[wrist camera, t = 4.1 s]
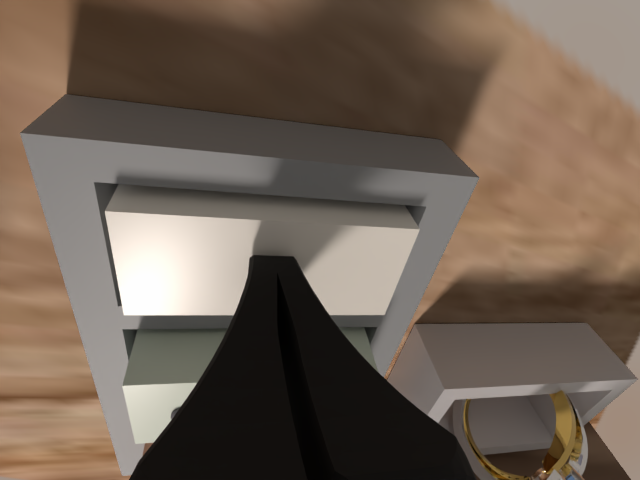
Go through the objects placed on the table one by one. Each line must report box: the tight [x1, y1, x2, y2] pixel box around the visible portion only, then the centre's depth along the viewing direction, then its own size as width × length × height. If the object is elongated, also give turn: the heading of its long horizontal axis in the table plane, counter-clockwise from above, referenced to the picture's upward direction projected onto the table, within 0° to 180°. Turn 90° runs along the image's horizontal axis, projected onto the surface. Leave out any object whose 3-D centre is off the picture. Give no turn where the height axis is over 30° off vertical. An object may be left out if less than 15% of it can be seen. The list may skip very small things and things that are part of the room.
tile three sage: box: [122, 327, 379, 444], centre depth 16 cm, size 4×9×3 cm, turn 79°
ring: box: [453, 390, 588, 480], centre depth 22 cm, size 7×3×8 cm, turn 135°
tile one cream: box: [105, 184, 420, 315], centre depth 13 cm, size 4×9×3 cm, turn 79°
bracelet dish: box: [387, 323, 638, 455], centre depth 23 cm, size 8×12×4 cm, turn 79°
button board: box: [20, 94, 479, 476], centre depth 17 cm, size 19×13×3 cm, turn 169°
